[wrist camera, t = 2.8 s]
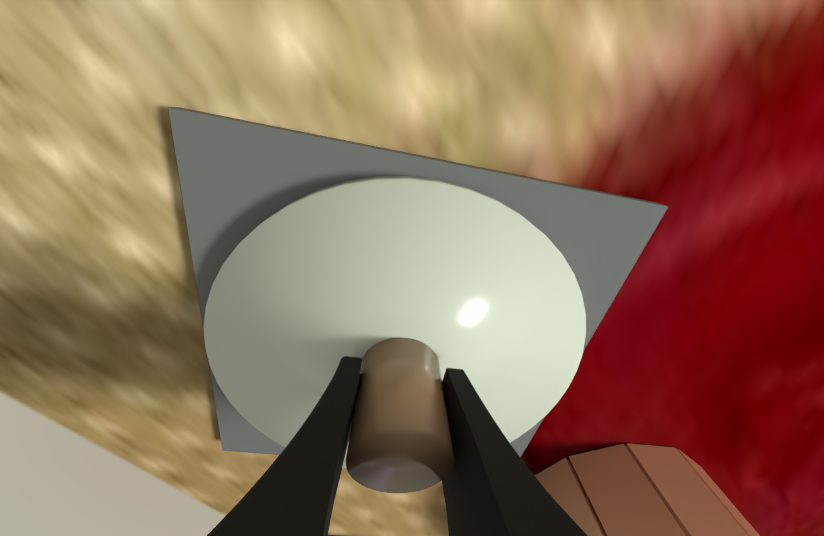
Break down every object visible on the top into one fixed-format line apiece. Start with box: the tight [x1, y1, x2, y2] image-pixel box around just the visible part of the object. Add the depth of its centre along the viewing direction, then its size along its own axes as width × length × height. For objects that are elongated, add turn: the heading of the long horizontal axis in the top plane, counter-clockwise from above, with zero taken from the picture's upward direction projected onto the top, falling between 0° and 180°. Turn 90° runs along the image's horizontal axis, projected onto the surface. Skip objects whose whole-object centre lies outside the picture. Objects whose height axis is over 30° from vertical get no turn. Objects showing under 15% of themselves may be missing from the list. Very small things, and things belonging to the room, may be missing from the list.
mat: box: [168, 107, 668, 457], centre depth 12 cm, size 15×15×1 cm
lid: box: [204, 175, 586, 493], centre depth 10 cm, size 14×14×4 cm
